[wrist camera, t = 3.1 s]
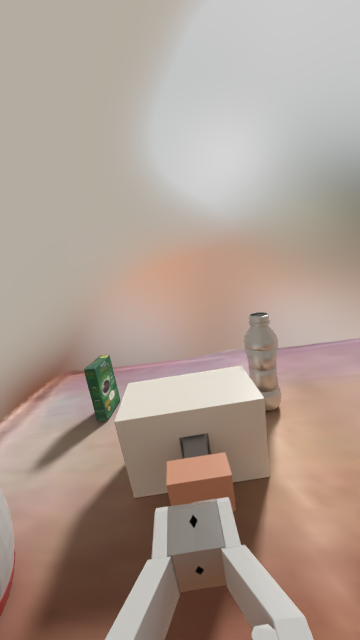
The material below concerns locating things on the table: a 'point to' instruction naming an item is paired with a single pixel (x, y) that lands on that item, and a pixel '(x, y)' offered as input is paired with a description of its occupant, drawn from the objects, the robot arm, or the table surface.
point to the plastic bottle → (263, 358)
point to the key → (199, 475)
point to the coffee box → (102, 387)
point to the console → (192, 425)
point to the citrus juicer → (5, 552)
